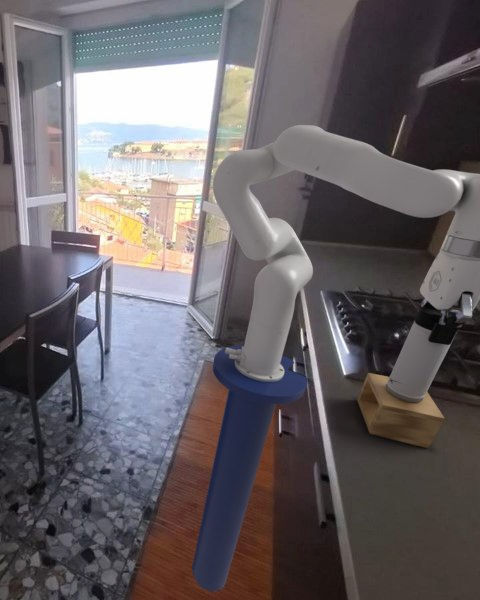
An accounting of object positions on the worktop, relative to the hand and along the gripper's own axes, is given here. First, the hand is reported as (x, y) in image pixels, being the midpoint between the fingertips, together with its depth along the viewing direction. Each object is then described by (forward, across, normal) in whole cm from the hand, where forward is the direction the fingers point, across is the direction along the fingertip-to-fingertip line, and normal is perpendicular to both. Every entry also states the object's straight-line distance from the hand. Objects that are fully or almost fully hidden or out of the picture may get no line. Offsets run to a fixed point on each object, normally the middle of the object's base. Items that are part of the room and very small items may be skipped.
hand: (431, 333), depth 71 cm
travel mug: (+15, 0, 0) cm, 15 cm away
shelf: (+23, 0, 0) cm, 23 cm away
